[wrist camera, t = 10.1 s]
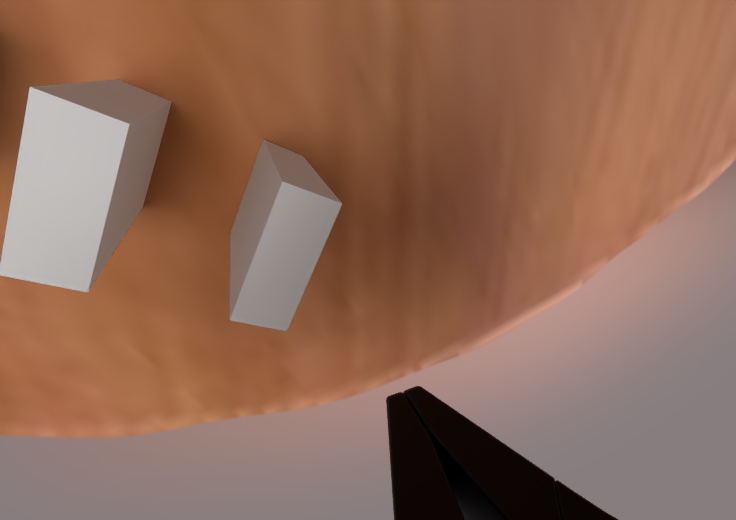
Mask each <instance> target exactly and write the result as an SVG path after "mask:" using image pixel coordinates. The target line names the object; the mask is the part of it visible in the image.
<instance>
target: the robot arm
mask: <svg viewBox="0 0 736 520" xmlns="http://www.w3.org/2000/svg"><path fill="white" fill-rule="evenodd" d="M386 403H387V418H388V432H389V449H390V464H391V479H392V494H393V510H394V520H618V519H616V518H615V517H613V516H611V515H610V514H608V513H606V512H604V511H603V510H601V509H600V508H598V507H597V506H595V505H594V504H592V503H591V502H589V501H588V500H586V499H585V498H583V497H582V496H580V495H579V494H577V493H575V492H574V491H573V490H571V489H570V488H568V487H567V486H565V485H564V484H562V483H561V482H559V481H555V480H554V478H553V477H552V476H550V475H549V474H548V473H546V472H545V471H543V470H542V469H540V468H539V467H537V466H536V465H534V464H533V463H532V462H530V461H529V460H527V459H526V458H524V457H523V456H521V455H520V454H518V453H517V452H515V451H514V450H512V449H511V448H510V447H508V446H507V445H505V444H504V443H502V442H501V441H499V440H498V439H496V438H495V437H494V436H492V435H491V434H489V433H488V432H486V431H485V430H483V429H481V428H480V427H479V426H477V425H476V424H475V423H473V422H472V421H470V420H469V419H467V418H466V417H464V416H463V415H461V414H460V413H459V412H457V411H455V410H454V409H453V408H451V407H450V406H448V405H447V404H445V403H444V402H442V401H441V400H439V399H438V398H436V397H435V396H434V395H432V394H431V393H429V392H428V391H426V390H425V389H423V388H422V387H420V386H416V387H413V388H410V389H408V390H405V391H404V392H403V393H402V392H400V393H396V394H393V395H391V396H388V397H387V399H386Z"/></svg>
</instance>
